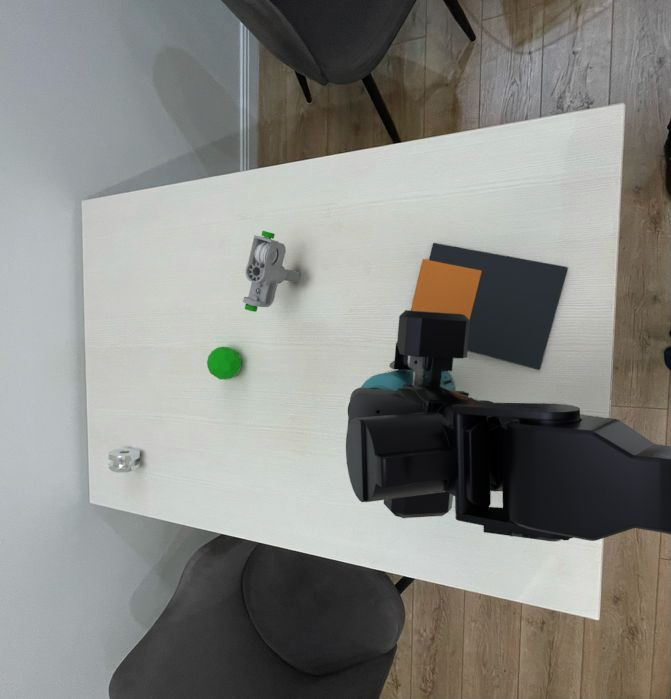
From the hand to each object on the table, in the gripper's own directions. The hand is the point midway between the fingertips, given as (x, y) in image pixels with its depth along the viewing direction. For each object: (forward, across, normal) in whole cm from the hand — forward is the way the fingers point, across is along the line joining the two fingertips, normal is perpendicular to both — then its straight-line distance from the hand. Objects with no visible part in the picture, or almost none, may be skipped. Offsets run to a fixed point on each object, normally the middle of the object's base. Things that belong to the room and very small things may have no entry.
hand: (391, 395), depth 57 cm
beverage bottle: (+7, 0, +9) cm, 11 cm away
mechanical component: (+24, -12, -6) cm, 28 cm away
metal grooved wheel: (+45, +20, -27) cm, 57 cm away
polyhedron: (+31, +1, -13) cm, 34 cm away
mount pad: (+5, -10, +14) cm, 18 cm away
